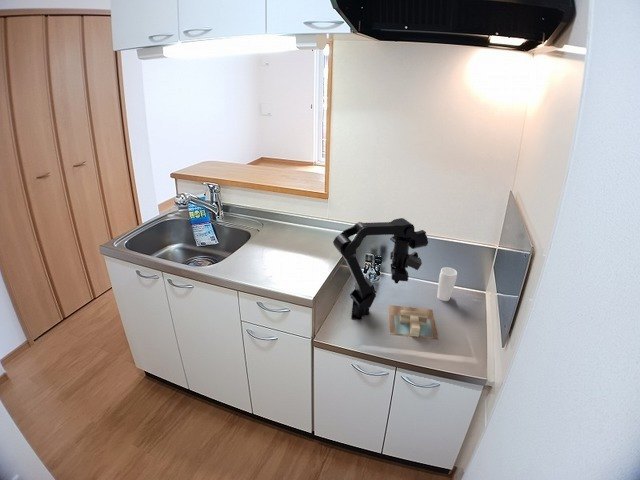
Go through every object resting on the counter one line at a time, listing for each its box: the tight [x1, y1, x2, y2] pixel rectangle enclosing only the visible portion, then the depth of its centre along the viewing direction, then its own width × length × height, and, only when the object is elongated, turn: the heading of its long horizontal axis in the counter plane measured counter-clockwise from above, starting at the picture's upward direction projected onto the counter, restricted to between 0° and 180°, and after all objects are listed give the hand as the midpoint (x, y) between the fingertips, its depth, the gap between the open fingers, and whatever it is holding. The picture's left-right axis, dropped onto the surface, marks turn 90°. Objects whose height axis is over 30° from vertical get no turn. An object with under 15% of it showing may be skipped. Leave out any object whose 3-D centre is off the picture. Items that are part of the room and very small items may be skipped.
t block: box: [400, 310, 427, 338], centre depth 139 cm, size 10×10×4 cm
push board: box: [388, 304, 440, 341], centre depth 143 cm, size 18×18×2 cm
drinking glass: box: [436, 266, 458, 302], centre depth 155 cm, size 7×7×15 cm
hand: (396, 282), depth 148 cm, fingers closed
